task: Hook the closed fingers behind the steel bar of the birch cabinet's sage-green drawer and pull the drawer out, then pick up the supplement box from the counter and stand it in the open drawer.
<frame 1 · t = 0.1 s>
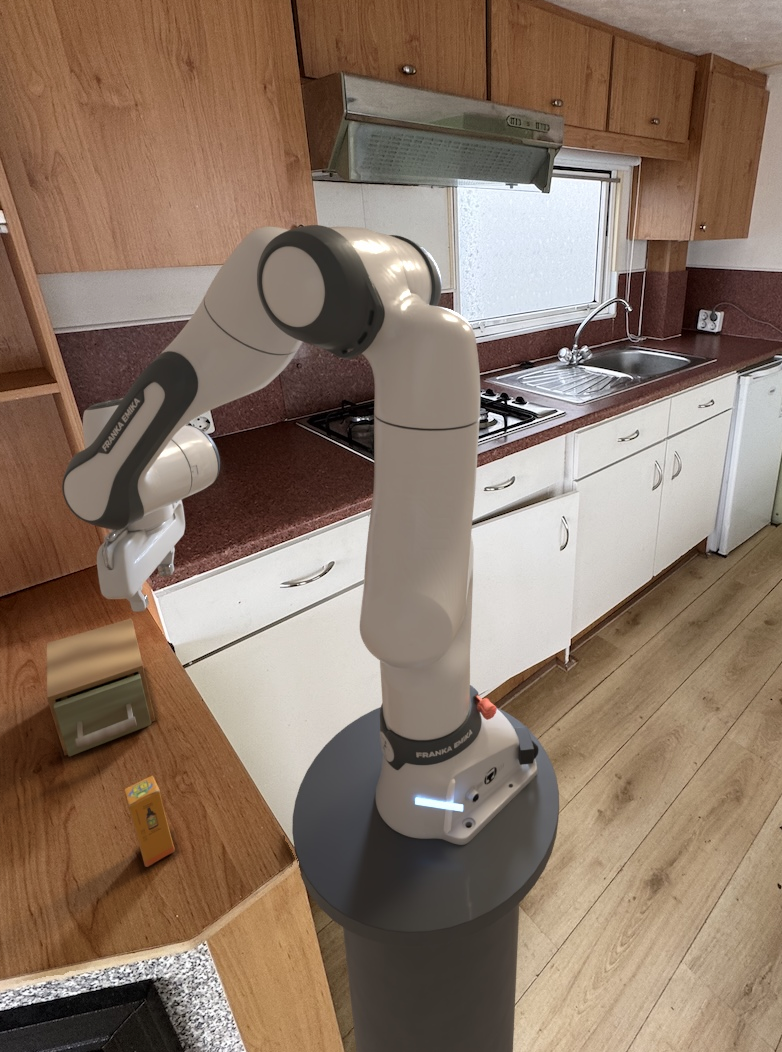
hand: (154, 590, 88), 21 cm above the counter, tool pointing down, fingers open, 8 cm apart
supplement box: (157, 851, 71), on the counter
cabinet: (107, 708, 93), on the counter
drawer: (103, 699, 88), point 5 cm above the counter, slide at 0.5 cm
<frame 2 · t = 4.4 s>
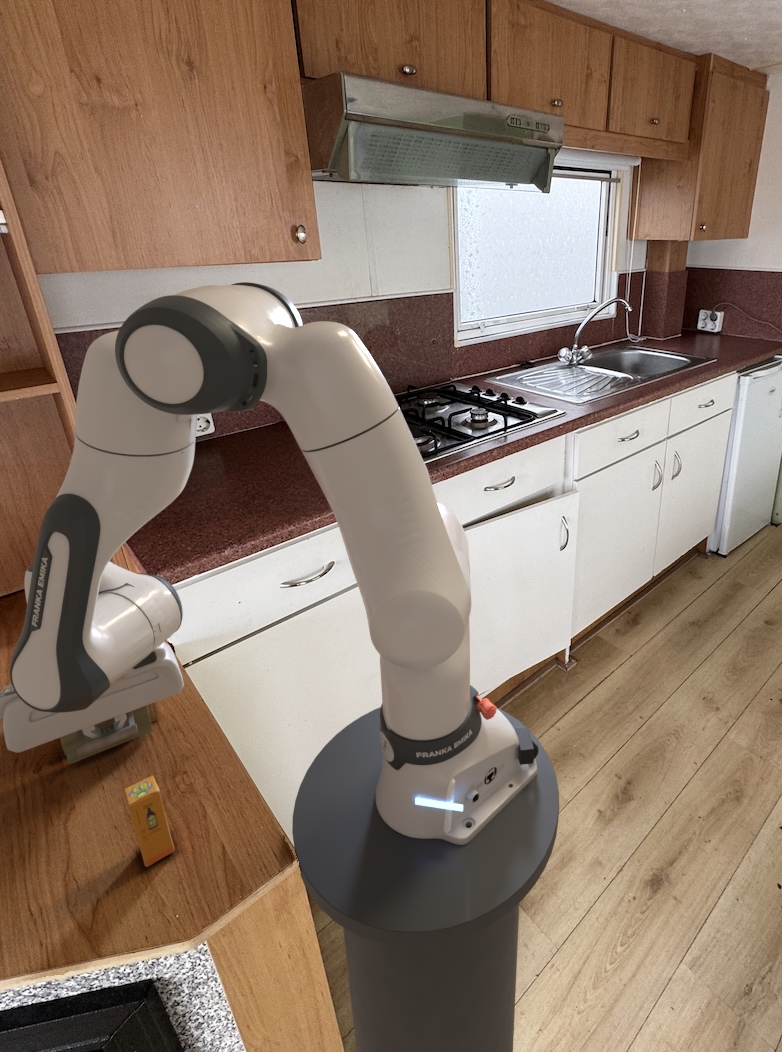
hand: (110, 740, 81), 4 cm above the counter, tool pointing down, fingers closed
drawer: (103, 705, 86), point 5 cm above the counter, slide at 2.1 cm, touching gripper
everything else where it was.
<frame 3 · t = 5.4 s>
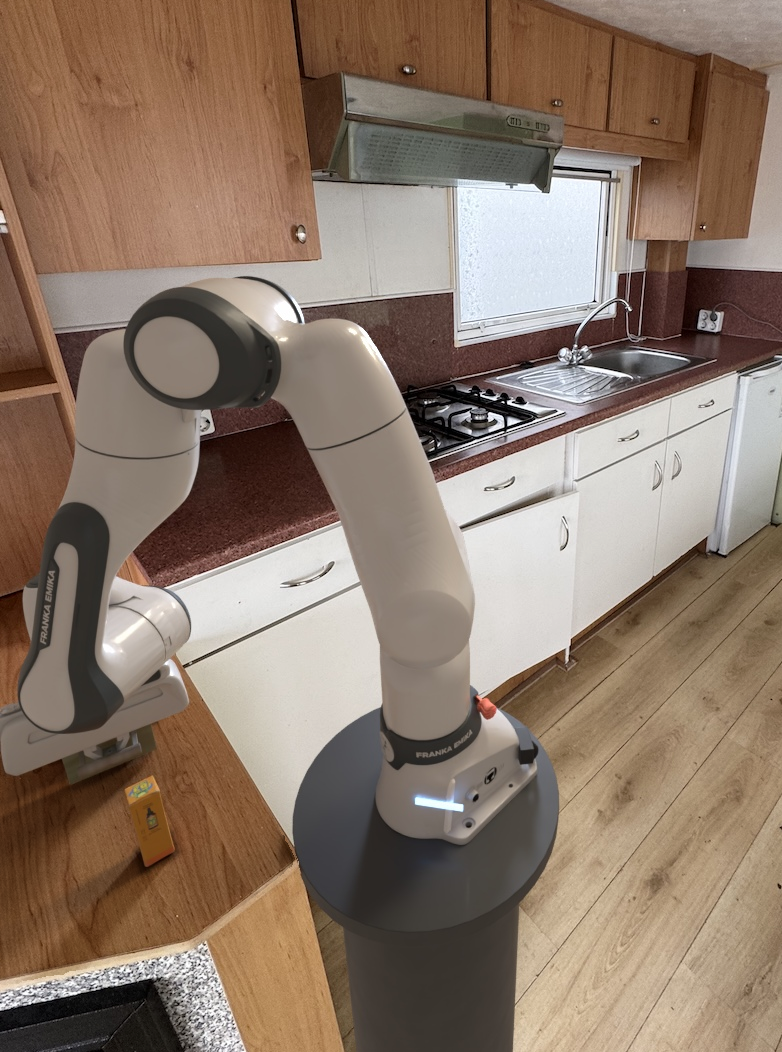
hand: (112, 760, 78), 4 cm above the counter, tool pointing down, fingers closed, pressing on drawer
drawer: (106, 723, 83), point 5 cm above the counter, slide at 6.2 cm, touching gripper
everything else where it was.
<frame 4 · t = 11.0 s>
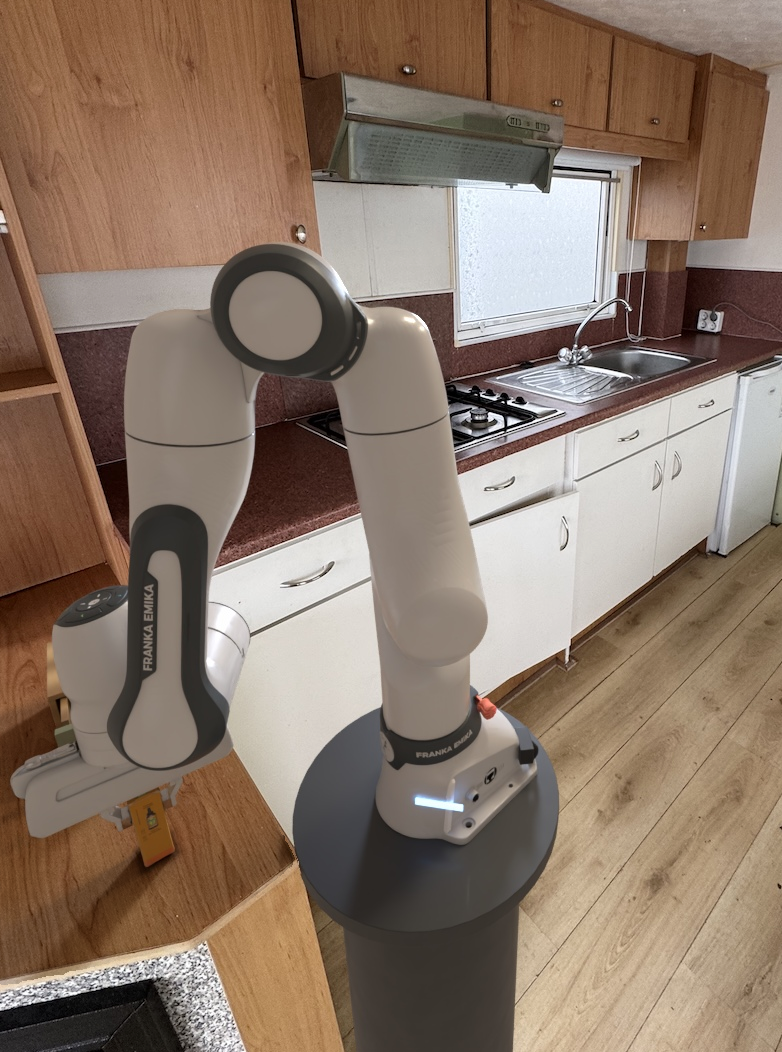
hand: (148, 814, 69), 6 cm above the counter, tool pointing down, fingers closed on supplement box, 3 cm apart
supplement box: (157, 851, 71), on the counter, touching gripper
drawer: (106, 723, 83), point 5 cm above the counter, slide at 6.3 cm
when the fingers open (10 cm above the counter, at t = 19.0 s): supplement box stays where it is, resting on drawer.
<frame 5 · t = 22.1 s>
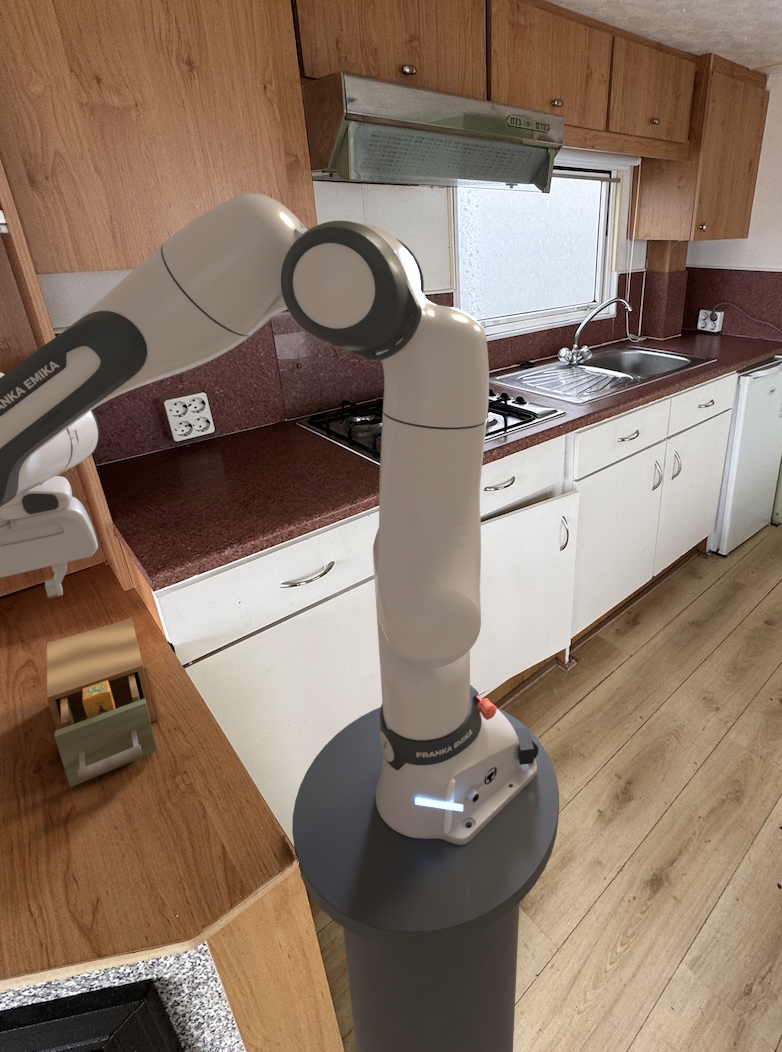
hand: (7, 607, 69), 29 cm above the counter, tool pointing down, fingers open, 8 cm apart
supplement box: (111, 746, 84), point 2 cm above the counter, touching drawer
drawer: (106, 724, 83), point 5 cm above the counter, slide at 6.7 cm, touching supplement box
at the end: drawer slide at 6.7 cm; supplement box inside the target area in the drawer (2.9 cm from its centre), point 1.8 cm above the cabinet's base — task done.
